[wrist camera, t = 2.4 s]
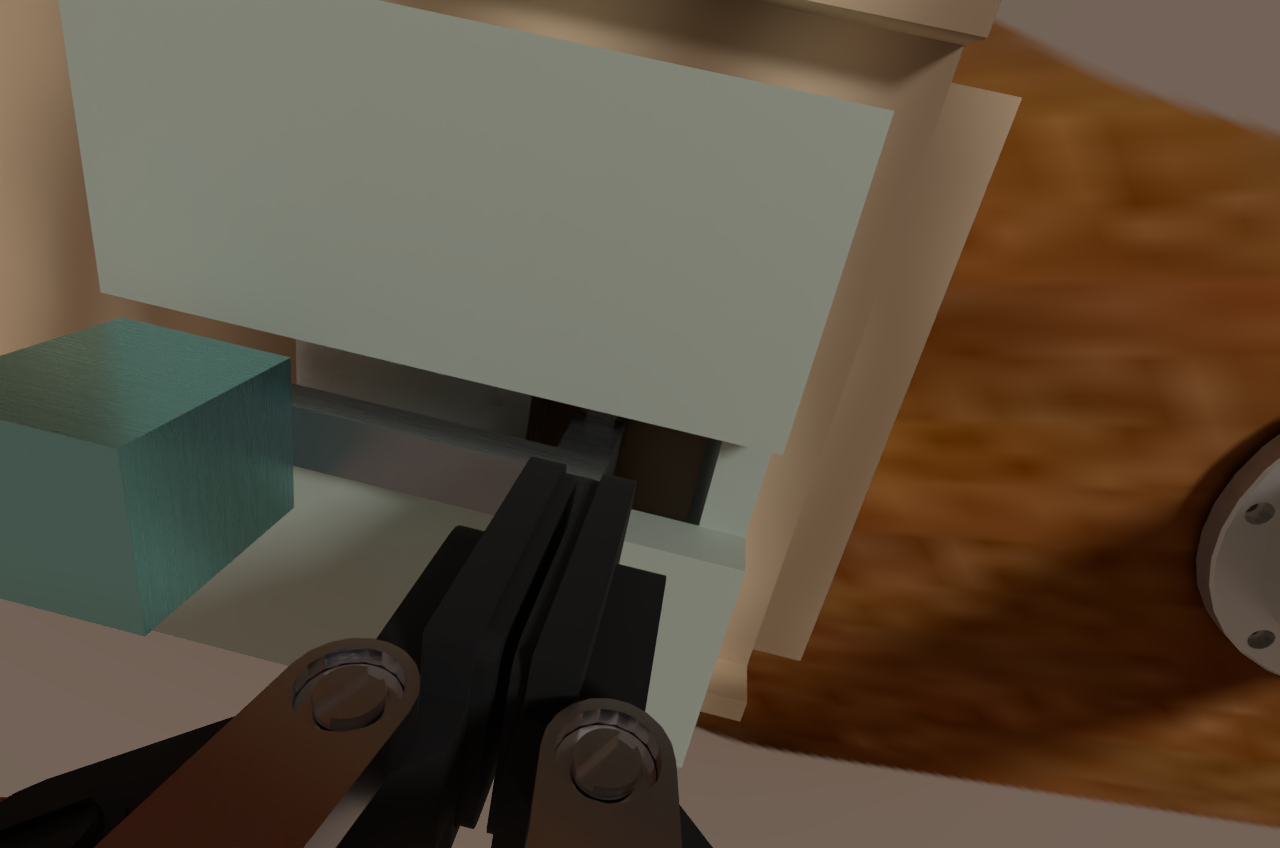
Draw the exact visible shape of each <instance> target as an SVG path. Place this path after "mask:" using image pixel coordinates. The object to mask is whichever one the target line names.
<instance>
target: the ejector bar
mask: <svg viewBox="0 0 1280 848" xmlns="http://www.w3.org/2000/svg"><path fill="white" fill-rule="evenodd" d="M628 421H629V418H624V417H620V416H616V415H612V414H608V413H603V412H599V411H595V410H591V409H588V411H587V413H583V412H579V411H577V413H576V415H575V417H574V418H573V420H572V422H571V424H570V425H569V427H568V429H567V431H566V432H565V434H564V436H563V438H562V439H561V441H560V443H559V445H558V446H557V447H554V446H550V445H546V444H541V443H537V442H533V441H529V440H525V439H521V438H517V437H512V436H508V435H504V434H500V433H496V432H492V431H488V430H484V429H479V428H475V427H471V426H467V425H463V424H459V423H455V422H450V421H446V420H442V419H438V418H434V417H430V416H426V415H422V414H417V413H413V412H409V411H405V410H401V409H397V408H393V407H388V406H384V405H380V404H376V403H372V402H368V401H364V400H360V399H355V398H351V397H347V396H343V395H339V394H335V393H331V392H326V391H322V390H318V389H314V388H310V387H306V386H302V385H298V384H293V383H291V361H290V357H286V356H282V355H278V354H273V353H269V352H265V351H261V350H257V349H253V348H249V347H244V346H240V345H236V344H232V343H228V342H224V341H219V340H215V339H211V338H207V337H203V336H199V335H194V334H190V333H186V332H182V331H178V330H174V329H169V328H165V327H161V326H157V325H153V324H149V323H144V322H140V321H136V320H132V319H128V318H124V317H120V318H117V319H114V320H111V321H108V322H105V323H102V324H98V325H95V326H92V327H89V328H86V329H83V330H80V331H76V332H73V333H70V334H67V335H64V336H61V337H58V338H55V339H51V340H48V341H45V342H42V343H39V344H36V345H33V346H29V347H26V348H23V349H20V350H17V351H14V352H11V353H7V354H4V355H1V356H0V598H1V599H5V600H8V601H12V602H16V603H20V604H24V605H28V606H31V607H35V608H39V609H43V610H47V611H50V612H54V613H58V614H62V615H66V616H70V617H73V618H77V619H81V620H85V621H89V622H92V623H96V624H100V625H104V626H108V627H111V628H115V629H119V630H123V631H127V632H131V633H134V634H138V635H142V636H146V635H147V634H148V633H149V632H150V631H152V630H153V629H154V628H155V627H156V626H157V625H159V624H160V623H161V622H162V621H163V620H164V619H166V618H167V617H168V616H169V615H170V614H171V613H172V612H174V611H175V610H176V609H177V608H178V607H179V606H181V605H182V604H183V603H184V602H185V601H186V600H188V599H189V598H190V597H191V596H192V595H193V594H194V593H196V592H197V591H198V590H199V589H200V588H201V587H203V586H204V585H205V584H206V583H207V582H208V581H210V580H211V579H212V578H213V577H214V576H215V575H217V574H218V573H219V572H220V571H221V570H222V569H223V568H225V567H226V566H227V565H228V564H229V563H230V562H232V561H233V560H234V559H235V558H236V557H237V556H239V555H240V554H241V553H242V552H243V551H244V550H245V549H247V548H248V547H249V546H250V545H251V544H252V543H254V542H255V541H256V540H257V539H258V538H259V537H261V536H262V535H263V534H264V533H265V532H266V531H267V530H269V529H270V528H271V527H272V526H273V525H274V524H276V523H277V522H278V521H279V520H280V519H281V518H283V517H284V516H285V515H286V514H287V513H288V512H290V511H291V510H292V509H293V508H294V482H293V466H296V467H300V468H304V469H308V470H312V471H316V472H320V473H324V474H328V475H332V476H336V477H341V478H345V479H349V480H353V481H357V482H361V483H365V484H369V485H373V486H377V487H381V488H385V489H389V490H393V491H397V492H401V493H405V494H409V495H413V496H417V497H421V498H425V499H429V500H433V501H437V502H441V503H446V504H450V505H454V506H458V507H462V508H466V509H470V510H474V511H478V512H482V513H486V514H490V515H495V514H496V512H497V510H498V509H499V507H500V505H501V504H502V502H503V501H504V499H505V497H506V496H507V494H508V492H509V491H510V489H511V488H512V486H513V484H514V483H515V481H516V480H517V478H518V476H519V475H520V473H521V471H522V470H523V468H524V467H525V465H526V463H527V462H528V460H529V459H530V457H537V458H541V459H545V460H550V461H554V462H558V463H562V464H566V467H567V468H566V474H568V475H572V476H577V485H576V491H575V497H574V502H573V508H572V513H571V516H572V514H573V512H574V509H575V507H576V505H577V502H578V500H579V498H580V495H581V493H582V490H583V488H584V486H585V483H586V481H587V479H589V480H593V481H597V482H600V480H601V477H602V475H603V474H608V475H612V476H616V477H617V474H618V469H619V464H620V459H621V454H622V450H623V445H624V440H625V435H626V430H627V426H628Z"/></svg>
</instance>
